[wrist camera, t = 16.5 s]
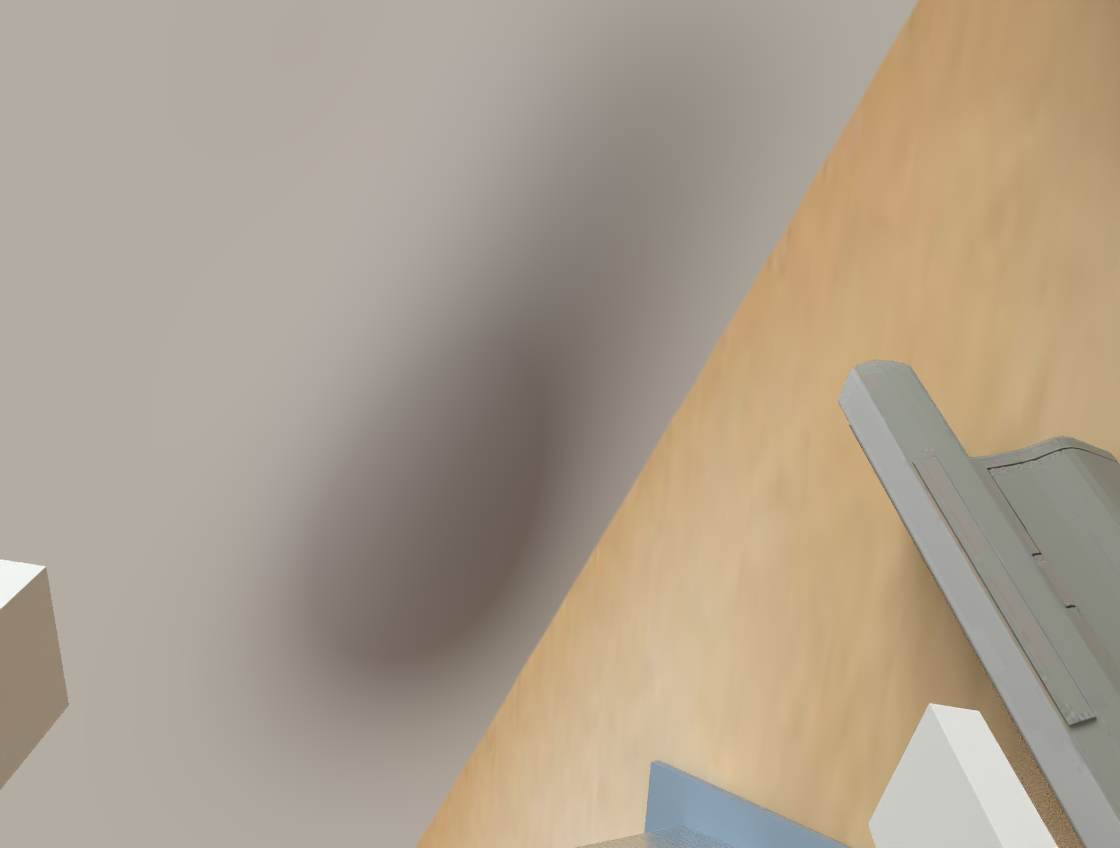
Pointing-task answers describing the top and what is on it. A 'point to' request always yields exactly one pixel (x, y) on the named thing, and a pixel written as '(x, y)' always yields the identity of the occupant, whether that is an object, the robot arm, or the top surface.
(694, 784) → the blue board
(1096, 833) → the digital clock
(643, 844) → the steel canister
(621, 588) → the top surface
